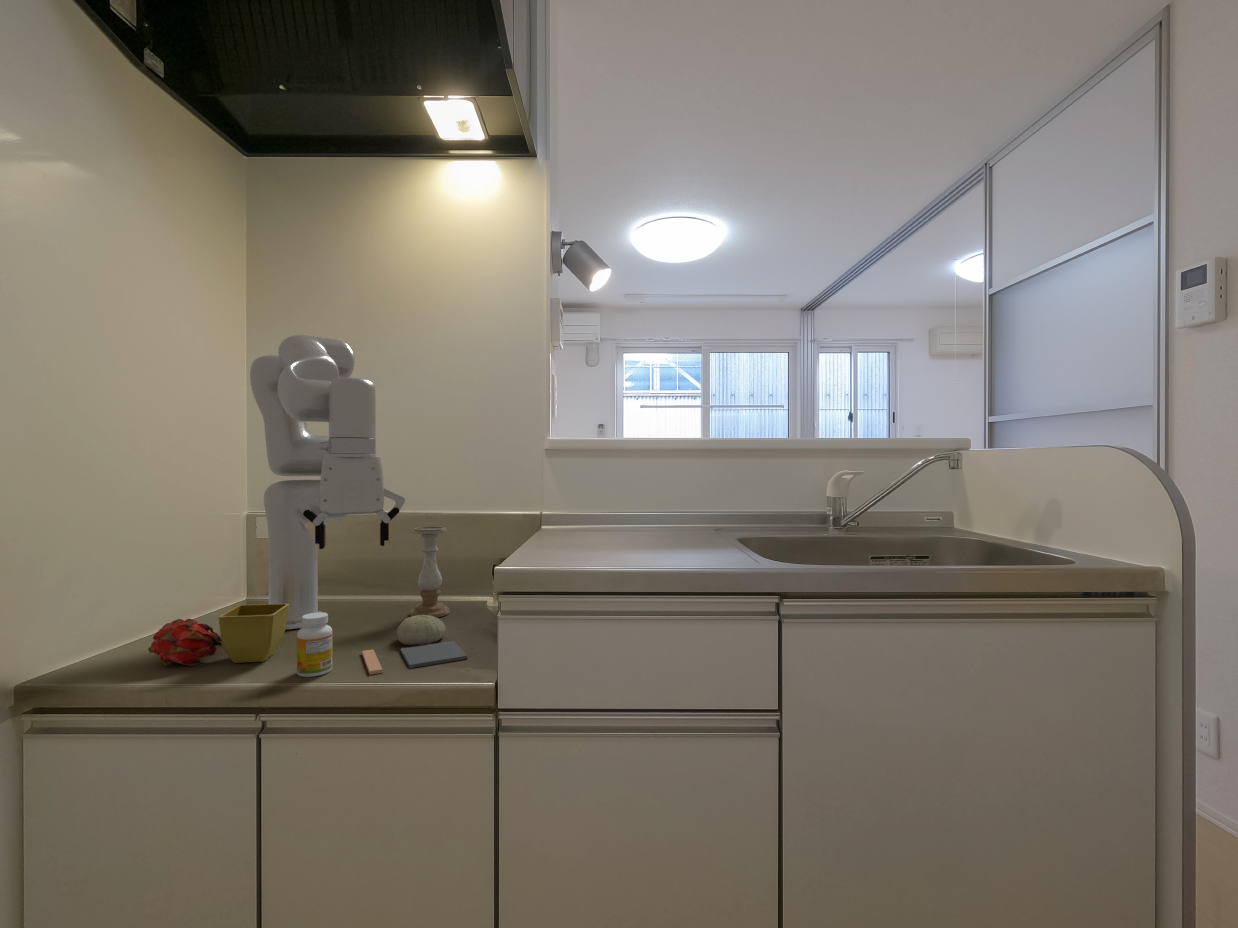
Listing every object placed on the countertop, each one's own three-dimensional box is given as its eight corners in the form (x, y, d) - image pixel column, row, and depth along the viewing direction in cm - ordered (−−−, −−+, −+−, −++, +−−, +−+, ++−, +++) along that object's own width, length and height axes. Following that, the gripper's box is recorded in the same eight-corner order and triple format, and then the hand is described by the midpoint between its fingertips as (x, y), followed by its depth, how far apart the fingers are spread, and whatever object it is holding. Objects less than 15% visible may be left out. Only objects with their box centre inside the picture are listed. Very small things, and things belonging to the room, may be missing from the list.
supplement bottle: (298, 668, 101) (298, 612, 101) (332, 664, 104) (333, 609, 104) (295, 679, 97) (295, 620, 96) (331, 674, 99) (331, 617, 99)
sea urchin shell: (434, 639, 112) (407, 608, 113) (408, 666, 113) (382, 635, 114) (457, 626, 121) (432, 597, 122) (432, 651, 122) (407, 622, 123)
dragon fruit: (154, 668, 106) (217, 680, 105) (123, 653, 99) (189, 666, 98) (182, 623, 111) (242, 634, 110) (155, 606, 104) (218, 617, 103)
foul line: (361, 653, 109) (361, 650, 109) (373, 652, 110) (373, 649, 110) (369, 674, 99) (369, 671, 99) (382, 672, 100) (382, 669, 100)
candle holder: (430, 621, 132) (430, 531, 132) (401, 616, 136) (401, 528, 135) (457, 612, 140) (457, 527, 140) (429, 607, 143) (429, 525, 143)
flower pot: (290, 649, 112) (290, 602, 112) (272, 665, 103) (272, 614, 103) (239, 652, 110) (239, 604, 110) (217, 668, 102) (217, 616, 101)
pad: (400, 651, 111) (400, 648, 111) (453, 643, 116) (453, 640, 116) (409, 668, 102) (409, 664, 102) (467, 658, 107) (467, 655, 107)
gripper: (293, 448, 96) (294, 552, 96) (405, 449, 103) (406, 546, 103) (299, 449, 103) (300, 546, 103) (404, 450, 110) (404, 541, 110)
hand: (352, 546), depth 103 cm, fingers open, 9 cm apart
